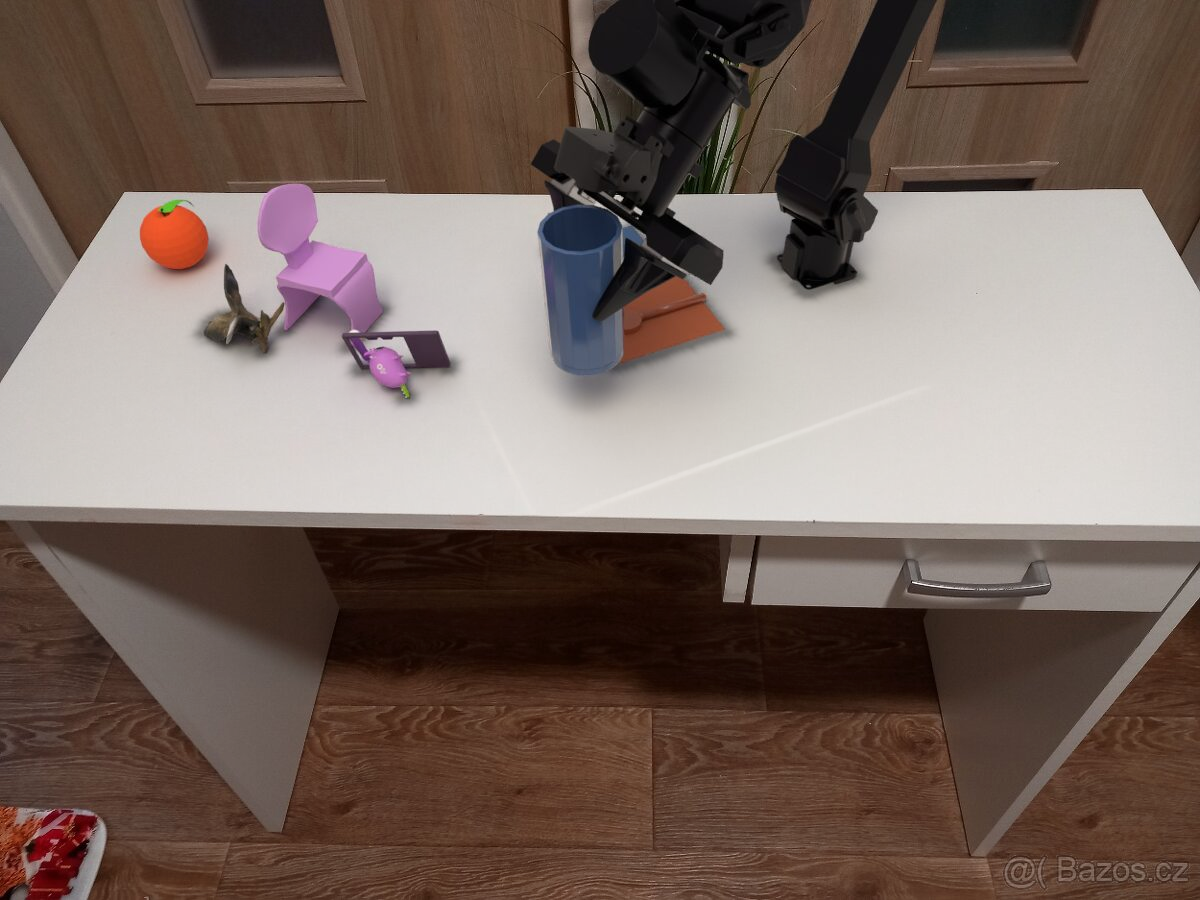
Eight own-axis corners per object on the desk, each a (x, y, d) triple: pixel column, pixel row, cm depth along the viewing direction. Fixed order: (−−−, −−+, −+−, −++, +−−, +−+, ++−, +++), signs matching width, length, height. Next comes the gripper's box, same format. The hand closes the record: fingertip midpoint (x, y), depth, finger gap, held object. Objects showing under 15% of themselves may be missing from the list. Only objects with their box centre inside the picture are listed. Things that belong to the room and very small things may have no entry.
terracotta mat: (680, 277, 98) (680, 274, 98) (724, 332, 92) (725, 329, 92) (579, 308, 95) (578, 304, 95) (617, 367, 89) (617, 363, 89)
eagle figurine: (307, 314, 94) (246, 272, 96) (267, 293, 87) (203, 248, 89) (266, 375, 94) (207, 331, 96) (223, 359, 87) (160, 312, 89)
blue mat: (631, 229, 104) (631, 225, 104) (650, 252, 101) (650, 248, 101) (551, 251, 102) (551, 247, 102) (568, 276, 99) (567, 272, 99)
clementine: (182, 235, 106) (158, 181, 101) (234, 243, 105) (212, 190, 99) (141, 276, 101) (114, 222, 96) (195, 285, 100) (171, 231, 94)
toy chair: (350, 356, 91) (310, 231, 80) (277, 336, 94) (229, 212, 82) (392, 306, 96) (360, 182, 85) (322, 288, 99) (282, 165, 87)
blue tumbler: (612, 320, 83) (608, 198, 74) (633, 367, 79) (632, 244, 69) (543, 334, 82) (529, 213, 73) (560, 383, 78) (548, 261, 68)
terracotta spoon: (699, 290, 96) (699, 283, 95) (713, 308, 94) (713, 301, 93) (605, 319, 93) (605, 312, 93) (618, 337, 91) (618, 331, 91)
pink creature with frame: (438, 323, 84) (342, 325, 84) (435, 373, 82) (337, 375, 82) (451, 357, 90) (361, 359, 90) (448, 404, 88) (357, 406, 88)
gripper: (539, 42, 70) (441, 218, 74) (704, 136, 60) (581, 333, 64) (619, 104, 79) (528, 258, 83) (774, 194, 69) (663, 364, 73)
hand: (570, 298), depth 75 cm, fingers closed on blue tumbler, 6 cm apart
